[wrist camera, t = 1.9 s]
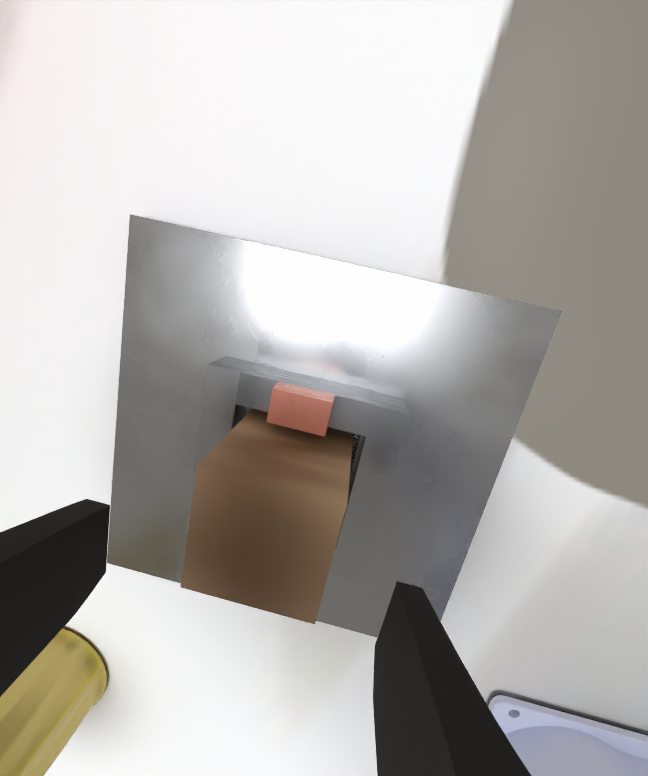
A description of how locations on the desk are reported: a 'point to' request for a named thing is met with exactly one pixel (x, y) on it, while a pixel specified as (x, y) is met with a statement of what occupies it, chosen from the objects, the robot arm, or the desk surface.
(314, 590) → the post
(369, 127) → the desk surface
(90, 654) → the vase
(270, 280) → the stand
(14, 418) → the desk surface
